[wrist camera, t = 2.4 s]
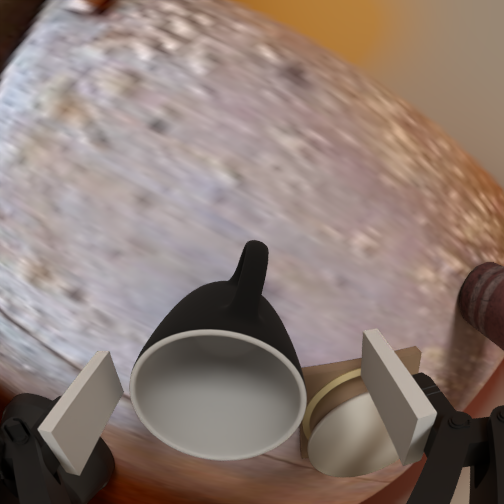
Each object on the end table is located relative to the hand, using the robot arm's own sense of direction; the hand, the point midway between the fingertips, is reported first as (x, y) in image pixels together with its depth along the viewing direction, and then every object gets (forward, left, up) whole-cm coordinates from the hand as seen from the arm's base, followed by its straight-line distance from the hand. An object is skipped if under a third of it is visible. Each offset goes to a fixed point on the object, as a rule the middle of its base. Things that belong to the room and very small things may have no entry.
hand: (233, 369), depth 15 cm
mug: (0, 0, -9) cm, 9 cm away
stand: (+10, -12, -9) cm, 18 cm away
